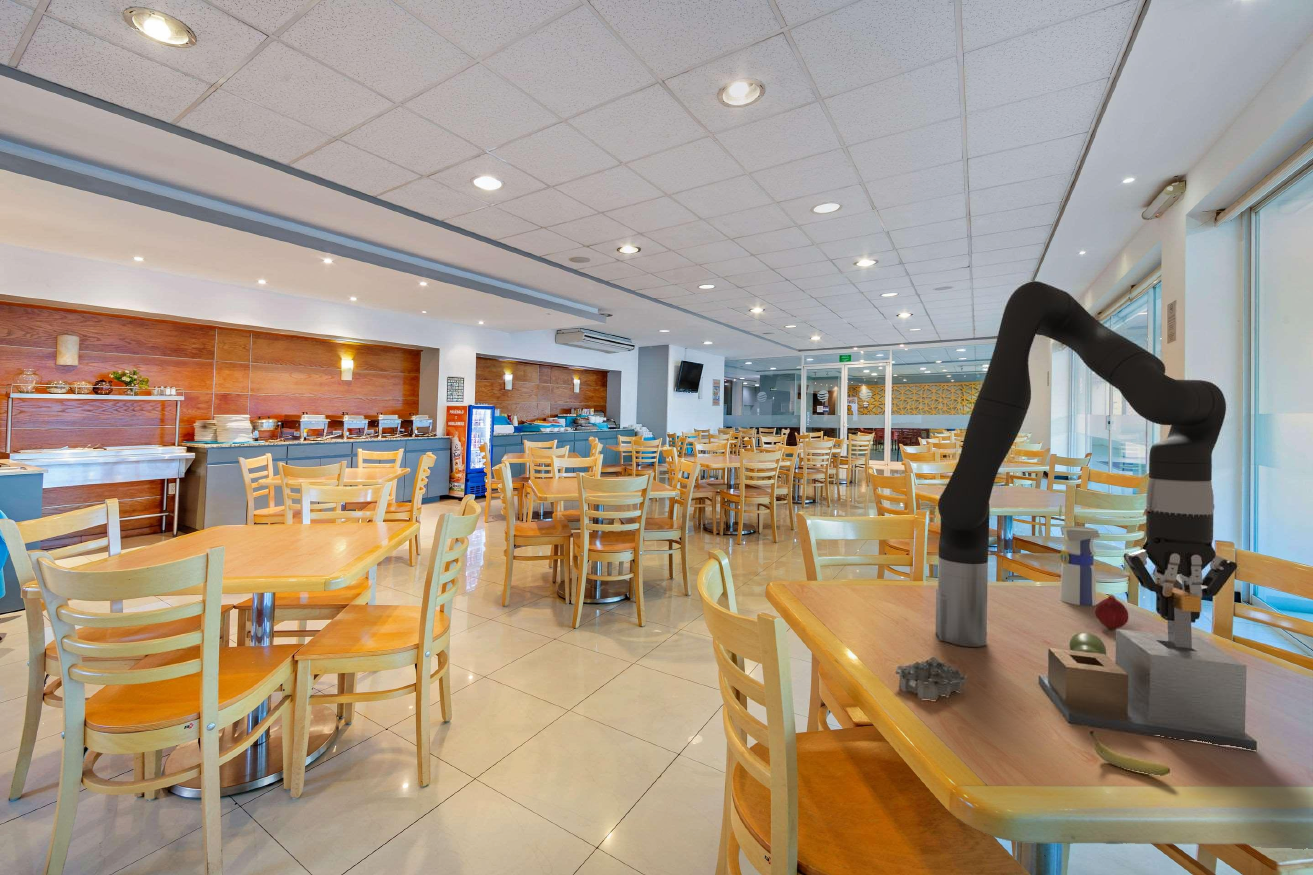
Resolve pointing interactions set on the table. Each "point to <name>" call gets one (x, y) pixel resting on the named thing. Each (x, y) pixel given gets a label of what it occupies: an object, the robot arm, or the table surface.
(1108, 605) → the onion
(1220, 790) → the table surface
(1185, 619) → the key
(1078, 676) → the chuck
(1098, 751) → the banana
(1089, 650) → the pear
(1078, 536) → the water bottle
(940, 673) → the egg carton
